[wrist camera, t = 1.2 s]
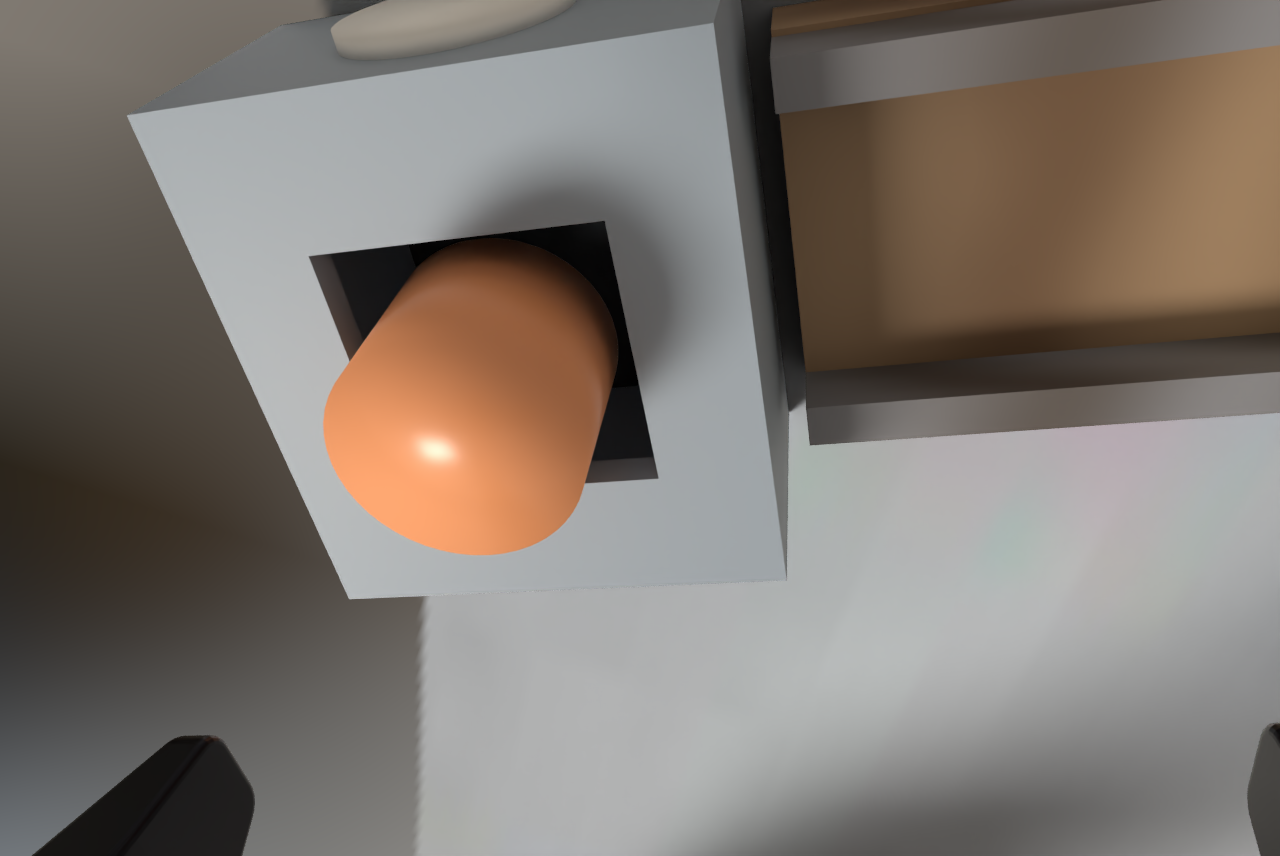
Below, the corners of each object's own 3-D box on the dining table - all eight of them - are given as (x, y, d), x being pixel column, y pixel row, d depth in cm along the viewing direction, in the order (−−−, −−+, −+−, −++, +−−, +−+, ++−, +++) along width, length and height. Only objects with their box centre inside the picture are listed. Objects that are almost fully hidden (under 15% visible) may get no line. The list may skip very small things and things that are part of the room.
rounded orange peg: (433, 443, 17) (373, 561, 15) (365, 251, 15) (283, 351, 13) (636, 427, 17) (609, 548, 14) (593, 224, 15) (552, 325, 12)
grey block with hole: (429, 441, 23) (349, 599, 19) (274, 7, 18) (116, 93, 13) (788, 414, 21) (786, 580, 17) (732, -74, 16) (709, -5, 12)
